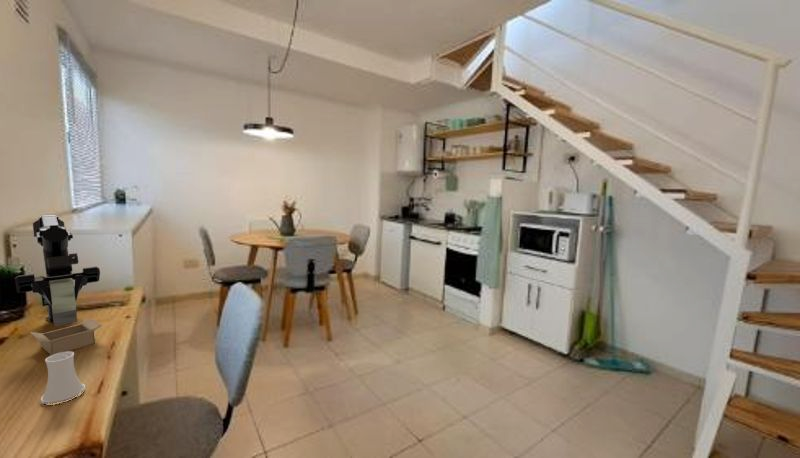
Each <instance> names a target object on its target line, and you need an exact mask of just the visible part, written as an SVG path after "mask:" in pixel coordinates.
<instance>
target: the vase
mask: <svg viewBox="0 0 800 458" xmlns="http://www.w3.org/2000/svg"><path fill="white" fill-rule="evenodd" d="M74 358H75V352H74V351H67V352H61V353H57V354H54V355H49V356H48V357H46V358H44V359H45V360H44V361H45V364H46V368H47V383H46V388H45V391H44V393H43V394H42V396H41V397H40V401H41V402H40V403H41V405H43V404H48V403H50V404H51V403H52V404H53V403H57V402H61V401H62V402H63V401H66V400H69V399H72V398H73V397H75V396H76V395H77V396H78V394H79V393H80V392H81V393H82V392H83V391H84V389H85V390H86V385H85V384H84V383H82V382H81V380H80V378H79V377H78V375H77V373H76V369H75V364H74V363H75V361H74Z"/></svg>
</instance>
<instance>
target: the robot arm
mask: <svg viewBox="0 0 800 458" xmlns="http://www.w3.org/2000/svg"><path fill="white" fill-rule="evenodd" d="M66 228H67V227H66V226H65V222H64V221H63V220H61V219H60V218H59V215H56V214H54V215H49V214H48V215H47V214H46V215H40V216H38V219H37V220H36V221H34V222H33V223H32V229H33V237H34V238H36V240H37V244H38V245H40V246H41V247H42V254H43V260H44V267H45V273H46V274H45V276H42V275H41V276H35V274H34V273H31V274H29V273H28V274H22V275H17V276H16V277H14V282H15V289H16V293H17V294H18V293H19V294H21V293H22V294H23V293H28V292H32V293H34V294H39V295H40V296H41V307H46V306H47V310H48V316H47V317H45V320H47V322H48V323H51V324H54V322H53V312H52V298H51V293H50V284H49V281H53V280H60V279H68V278H72V280H73V281H74V292H75V302H77V300H78V297H79V295H80V292H81V290H82V288H83V287H85V286H87V285H88V284H90V283H97V282H99V281H100V277H101V271H100V268H99V267H98V266H90V267H89V266H88V267H82V272H77V273H76V272H74V273H73V265H78V264H79V257H78V253H76V252H75V253H69V250H68V247H69V242H70V241H72V239H74V236H73V234H72V233H71V232H70V230H67V229H66Z"/></svg>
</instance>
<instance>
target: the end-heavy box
mask: <svg viewBox="0 0 800 458" xmlns="http://www.w3.org/2000/svg"><path fill="white" fill-rule="evenodd" d="M49 284H50V293H51V298H52V312H53V325H54V327H58V326H64V325H68V324H69V325H70V324H73V323H78V316H77V303H76V302H77V301H75V292H74V287H75V280H72V278H68V279H60V280H53V281H49Z"/></svg>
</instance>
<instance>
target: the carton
mask: <svg viewBox="0 0 800 458" xmlns="http://www.w3.org/2000/svg"><path fill="white" fill-rule="evenodd" d="M101 327H102V324H101V323H99V322H98V321H96V320H94V319H93V318H91V317H88V318H87V319H85V320H84V321H82V322H81V323H79V324H75V325H72V326H71V325H70V326H67V327H64V328H63V327H62V328H59V329H55V330H52V331H47V332H43V333H41V332H33V331H30V332H29V333H30V334H31V335H32V336H33V338H35V339H36V340H37V341H38V342H39V343H40V346H41V348H42V349H43V350H44V351H46V352H47V353H48V354H49V356H51V355H54V354H57V353H61V352H71V351H73V350H74V351H75V350H76V349H77V350H78V349H80V348H83V347H86V346H90V345H94V344H95V343H96V341H95V331H97V329H99V328H101Z"/></svg>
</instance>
